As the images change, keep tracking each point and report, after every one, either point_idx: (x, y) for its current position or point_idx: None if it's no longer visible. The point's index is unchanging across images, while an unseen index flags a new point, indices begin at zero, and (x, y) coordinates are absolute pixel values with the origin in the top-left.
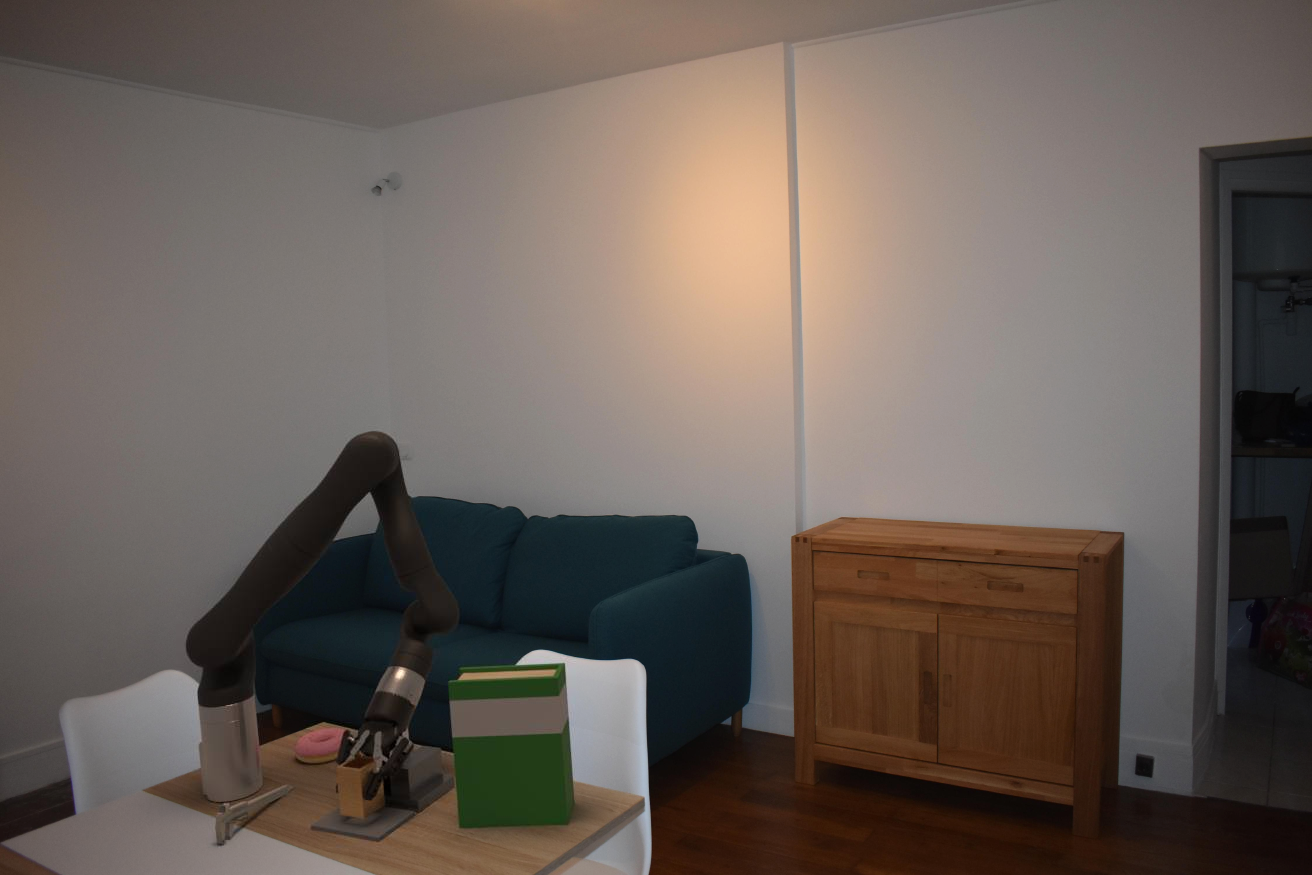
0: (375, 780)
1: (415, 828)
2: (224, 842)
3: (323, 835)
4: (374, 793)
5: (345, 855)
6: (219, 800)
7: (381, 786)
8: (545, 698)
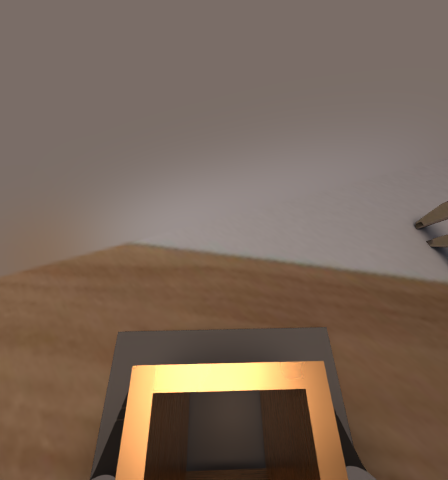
0: (113, 445)
1: (50, 431)
2: (418, 227)
3: (268, 313)
4: None
5: (161, 264)
6: None
7: None
8: None
